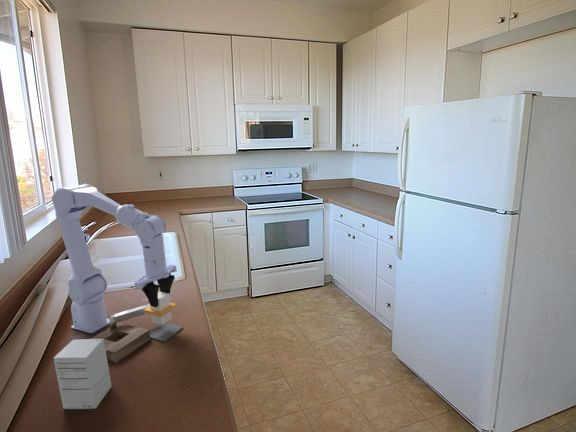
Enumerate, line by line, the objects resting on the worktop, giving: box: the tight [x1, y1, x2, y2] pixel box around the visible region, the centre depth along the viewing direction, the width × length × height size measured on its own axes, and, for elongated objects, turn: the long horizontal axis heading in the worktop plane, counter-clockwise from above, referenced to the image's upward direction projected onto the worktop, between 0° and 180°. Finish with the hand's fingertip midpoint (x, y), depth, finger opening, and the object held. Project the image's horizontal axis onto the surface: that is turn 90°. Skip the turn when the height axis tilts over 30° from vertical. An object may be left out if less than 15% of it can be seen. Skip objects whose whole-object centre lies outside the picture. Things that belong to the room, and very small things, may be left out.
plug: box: [144, 291, 178, 325], centre depth 107 cm, size 6×6×8 cm
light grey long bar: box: [108, 303, 150, 328], centre depth 110 cm, size 13×2×3 cm, turn 127°
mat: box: [149, 322, 184, 343], centre depth 109 cm, size 8×8×1 cm
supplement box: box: [53, 338, 112, 410], centre depth 81 cm, size 7×7×13 cm
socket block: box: [90, 322, 151, 363], centre depth 102 cm, size 12×12×3 cm
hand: (160, 302), depth 107 cm, fingers closed on plug, 4 cm apart
